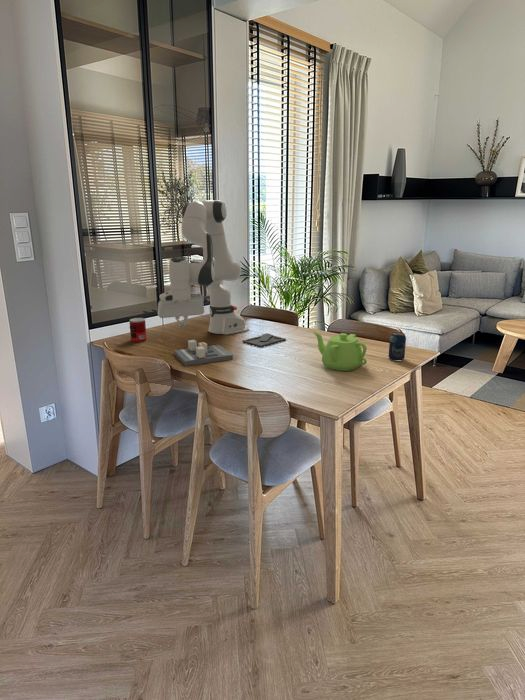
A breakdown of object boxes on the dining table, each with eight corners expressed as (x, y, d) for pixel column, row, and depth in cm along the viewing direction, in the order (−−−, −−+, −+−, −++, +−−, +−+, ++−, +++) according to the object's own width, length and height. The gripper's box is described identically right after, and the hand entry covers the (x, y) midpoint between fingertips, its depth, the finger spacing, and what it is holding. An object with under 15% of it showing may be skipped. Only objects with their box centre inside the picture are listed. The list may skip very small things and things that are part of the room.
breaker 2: (202, 354, 218) (202, 346, 217) (205, 357, 215) (205, 348, 214) (196, 355, 217) (195, 347, 216) (198, 358, 214) (198, 349, 213)
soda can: (392, 362, 215) (394, 336, 211) (385, 357, 221) (387, 332, 218) (407, 361, 216) (409, 335, 213) (399, 356, 222) (401, 331, 219)
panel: (219, 348, 235) (218, 344, 235) (232, 359, 220) (232, 354, 219) (174, 354, 227) (174, 350, 226) (185, 365, 211) (185, 360, 210)
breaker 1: (194, 347, 229) (194, 339, 228) (197, 350, 225) (196, 341, 224) (188, 348, 228) (188, 340, 226) (190, 350, 224) (190, 342, 223)
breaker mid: (204, 350, 225) (204, 341, 224) (207, 352, 221) (207, 343, 220) (198, 351, 224) (198, 342, 222) (201, 353, 220) (200, 344, 219)
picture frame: (267, 336, 258) (242, 343, 246) (267, 333, 258) (242, 339, 245) (285, 341, 249) (260, 348, 237) (285, 337, 249) (260, 344, 236)
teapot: (370, 371, 203) (372, 338, 199) (324, 375, 199) (326, 341, 195) (354, 358, 221) (355, 327, 216) (311, 361, 217) (312, 329, 213)
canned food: (148, 338, 254) (147, 317, 251) (143, 342, 246) (141, 321, 243) (134, 338, 255) (132, 317, 251) (128, 342, 247) (127, 321, 244)
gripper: (201, 292, 218) (202, 322, 222) (155, 295, 210) (157, 326, 214) (205, 294, 212) (206, 325, 216) (159, 297, 204) (160, 329, 208)
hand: (181, 326), depth 215 cm, fingers closed
